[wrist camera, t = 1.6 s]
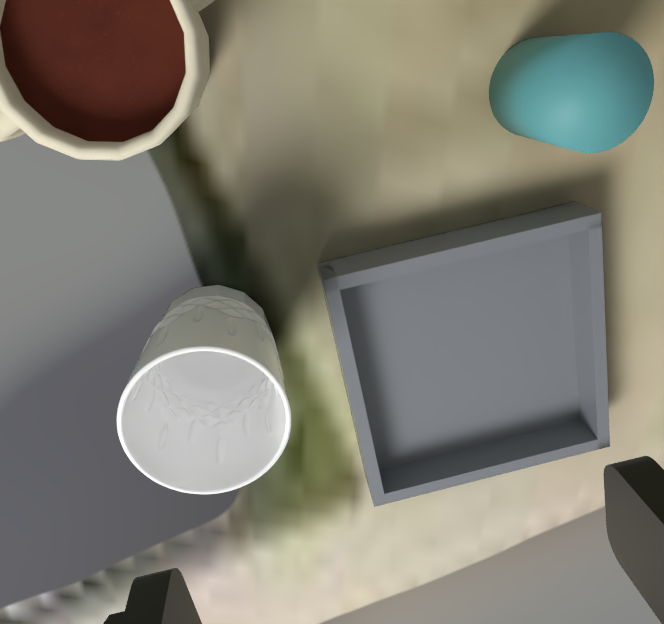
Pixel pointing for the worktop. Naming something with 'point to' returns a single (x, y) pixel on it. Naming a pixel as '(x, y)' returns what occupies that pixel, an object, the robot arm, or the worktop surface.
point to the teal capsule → (573, 90)
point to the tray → (473, 350)
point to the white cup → (206, 395)
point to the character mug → (100, 72)
